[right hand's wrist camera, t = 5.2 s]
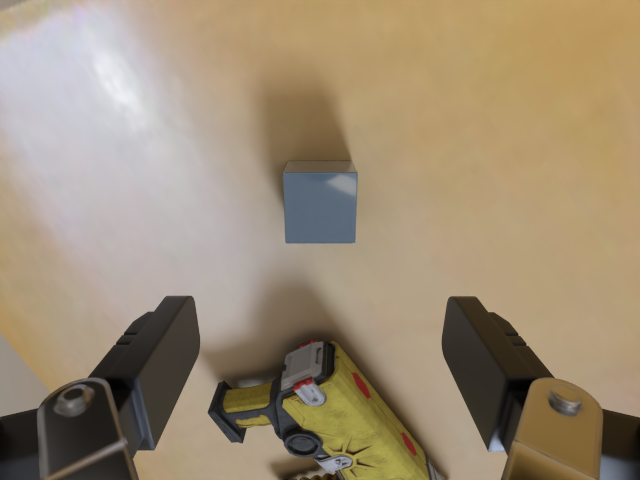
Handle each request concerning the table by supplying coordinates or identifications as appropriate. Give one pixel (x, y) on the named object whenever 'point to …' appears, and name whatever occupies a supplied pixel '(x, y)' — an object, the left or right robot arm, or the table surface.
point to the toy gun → (325, 418)
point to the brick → (320, 201)
